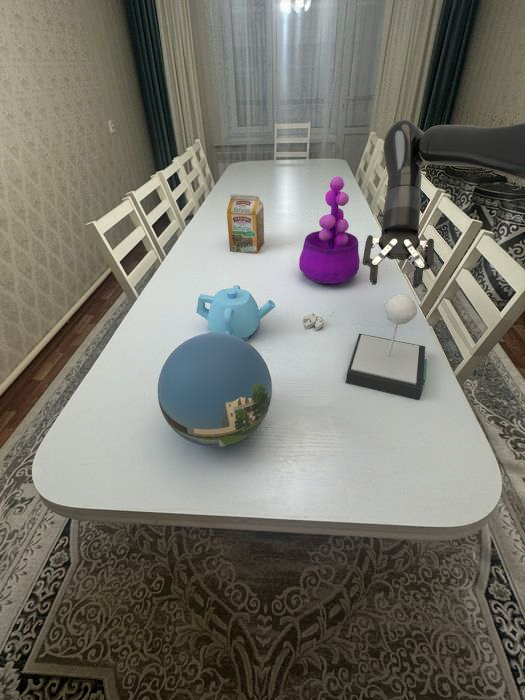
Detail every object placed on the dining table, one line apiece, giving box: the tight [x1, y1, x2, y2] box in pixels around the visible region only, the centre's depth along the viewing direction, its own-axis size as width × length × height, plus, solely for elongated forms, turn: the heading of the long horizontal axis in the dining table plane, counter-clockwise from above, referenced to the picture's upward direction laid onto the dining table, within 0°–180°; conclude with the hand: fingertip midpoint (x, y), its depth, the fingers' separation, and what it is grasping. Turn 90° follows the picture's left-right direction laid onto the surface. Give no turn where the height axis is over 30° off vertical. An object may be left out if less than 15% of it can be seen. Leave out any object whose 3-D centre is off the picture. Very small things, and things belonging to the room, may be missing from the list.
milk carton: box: [226, 193, 265, 255], centre depth 131 cm, size 11×10×19 cm
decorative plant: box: [298, 176, 360, 284], centre depth 107 cm, size 19×18×30 cm
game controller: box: [302, 311, 335, 331], centre depth 96 cm, size 6×12×3 cm, turn 145°
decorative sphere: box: [157, 332, 273, 448], centre depth 63 cm, size 20×20×20 cm
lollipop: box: [384, 294, 418, 357], centre depth 74 cm, size 6×6×15 cm
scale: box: [345, 333, 428, 401], centre depth 79 cm, size 16×15×4 cm
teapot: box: [196, 284, 276, 341], centre depth 90 cm, size 20×17×12 cm
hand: (394, 285), depth 77 cm, fingers open, 8 cm apart
